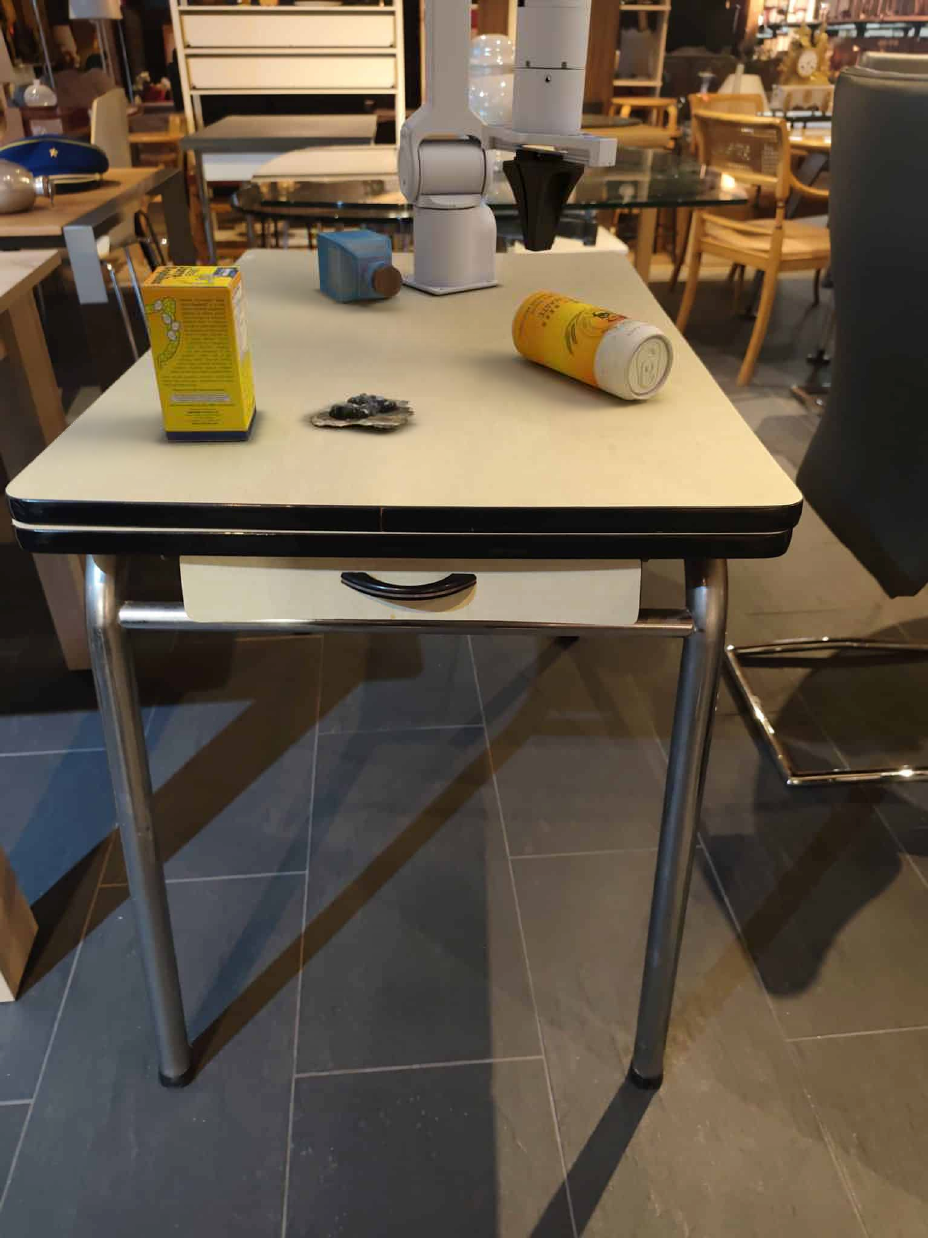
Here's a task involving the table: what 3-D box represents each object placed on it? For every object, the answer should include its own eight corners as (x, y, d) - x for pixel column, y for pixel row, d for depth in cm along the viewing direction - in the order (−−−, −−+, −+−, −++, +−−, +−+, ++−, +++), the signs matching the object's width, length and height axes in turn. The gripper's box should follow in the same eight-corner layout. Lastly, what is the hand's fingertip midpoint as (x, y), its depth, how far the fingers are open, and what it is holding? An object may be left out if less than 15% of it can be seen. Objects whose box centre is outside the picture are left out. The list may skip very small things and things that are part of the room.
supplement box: (179, 413, 69) (156, 264, 63) (257, 412, 69) (241, 264, 63) (164, 442, 64) (137, 284, 58) (249, 441, 64) (230, 284, 58)
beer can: (556, 280, 81) (678, 318, 71) (559, 345, 85) (675, 389, 74) (504, 299, 78) (622, 341, 68) (509, 365, 82) (622, 414, 72)
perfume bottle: (368, 285, 105) (415, 308, 97) (320, 290, 103) (363, 315, 94) (366, 229, 102) (414, 248, 93) (316, 232, 99) (361, 253, 91)
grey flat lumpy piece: (419, 433, 66) (419, 408, 65) (311, 438, 65) (309, 413, 64) (407, 402, 72) (407, 379, 71) (307, 406, 71) (306, 383, 70)
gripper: (454, 64, 73) (452, 240, 81) (577, 71, 64) (561, 269, 71) (519, 64, 77) (510, 232, 84) (643, 71, 67) (622, 260, 75)
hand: (538, 249), depth 78 cm, fingers closed
